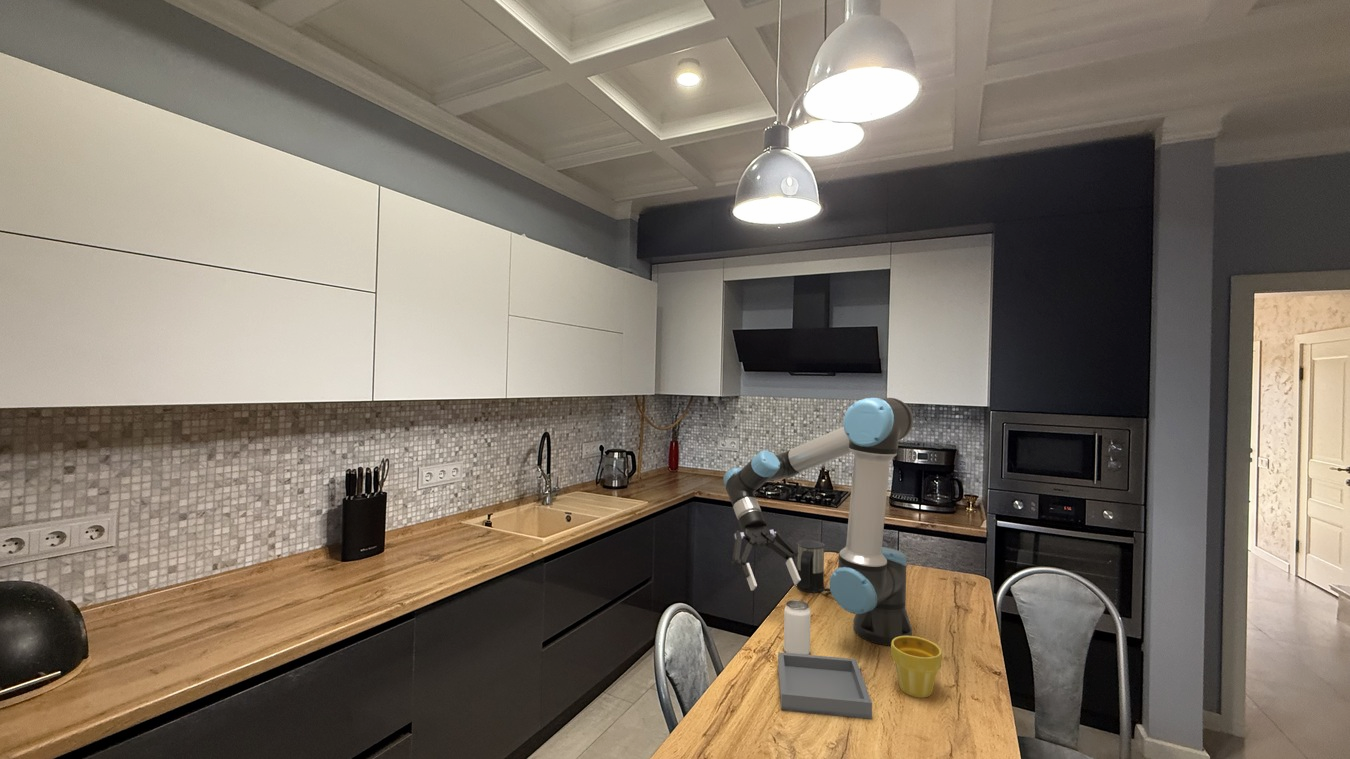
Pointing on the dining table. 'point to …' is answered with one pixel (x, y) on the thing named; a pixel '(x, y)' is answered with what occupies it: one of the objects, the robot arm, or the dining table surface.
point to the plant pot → (916, 664)
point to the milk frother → (811, 566)
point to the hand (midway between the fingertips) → (776, 585)
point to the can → (797, 627)
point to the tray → (823, 686)
